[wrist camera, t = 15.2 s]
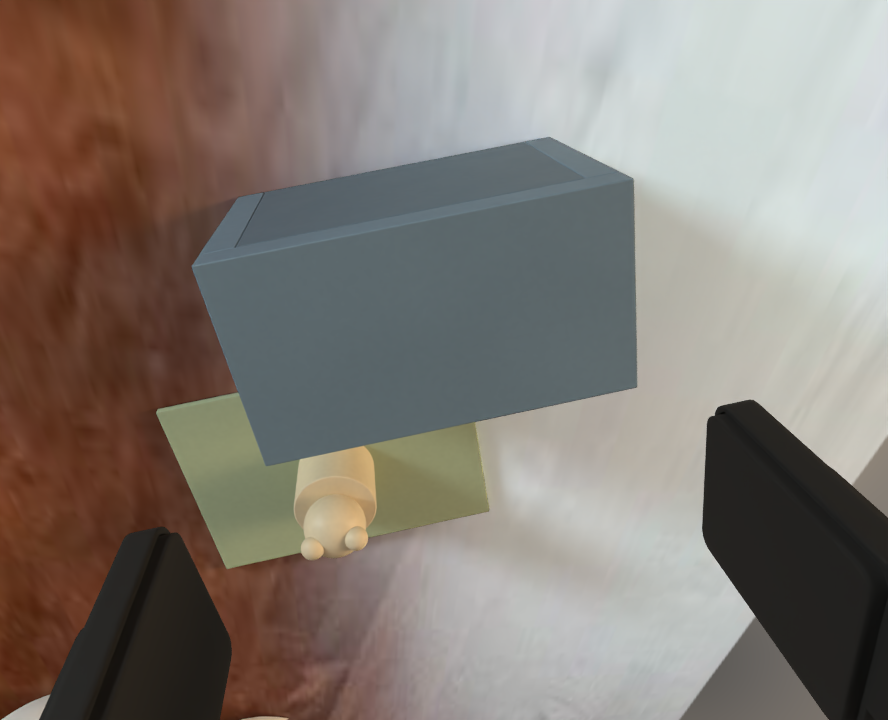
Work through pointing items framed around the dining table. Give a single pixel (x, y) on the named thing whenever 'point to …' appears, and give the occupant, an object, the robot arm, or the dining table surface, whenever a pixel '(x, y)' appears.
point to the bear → (335, 502)
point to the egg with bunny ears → (31, 712)
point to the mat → (273, 487)
